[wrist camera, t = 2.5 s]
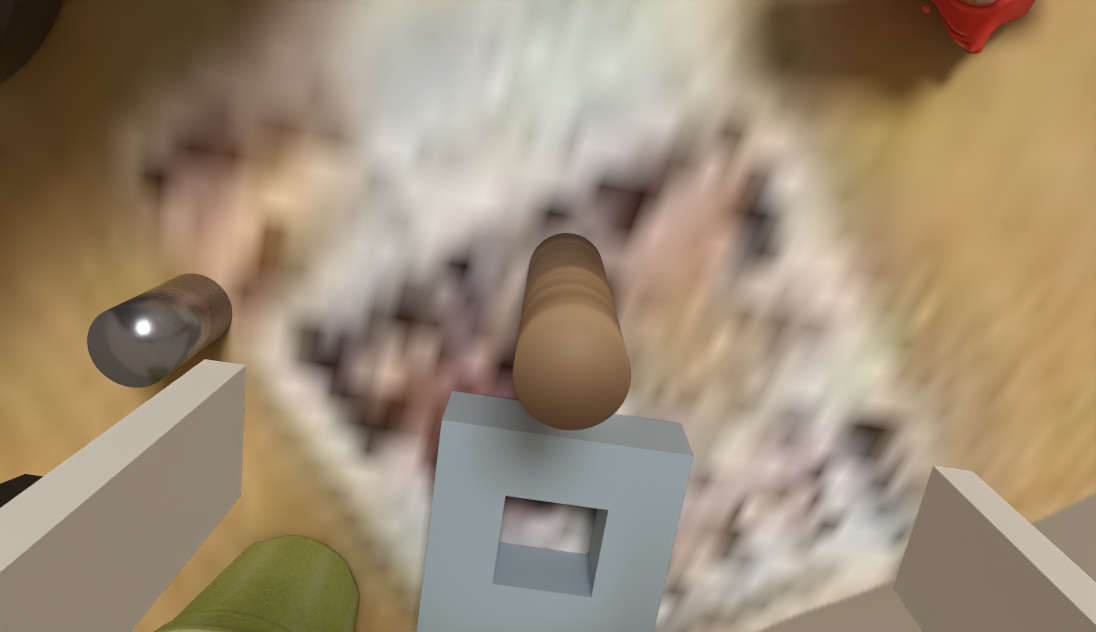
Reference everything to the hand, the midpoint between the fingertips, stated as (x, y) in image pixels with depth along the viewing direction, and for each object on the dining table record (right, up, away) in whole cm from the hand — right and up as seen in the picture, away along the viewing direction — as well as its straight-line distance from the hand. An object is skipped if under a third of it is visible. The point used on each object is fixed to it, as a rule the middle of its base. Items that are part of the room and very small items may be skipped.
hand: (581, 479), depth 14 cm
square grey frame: (-1, -6, +19) cm, 20 cm away
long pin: (0, +5, +16) cm, 17 cm away
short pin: (-15, +3, +17) cm, 23 cm away
